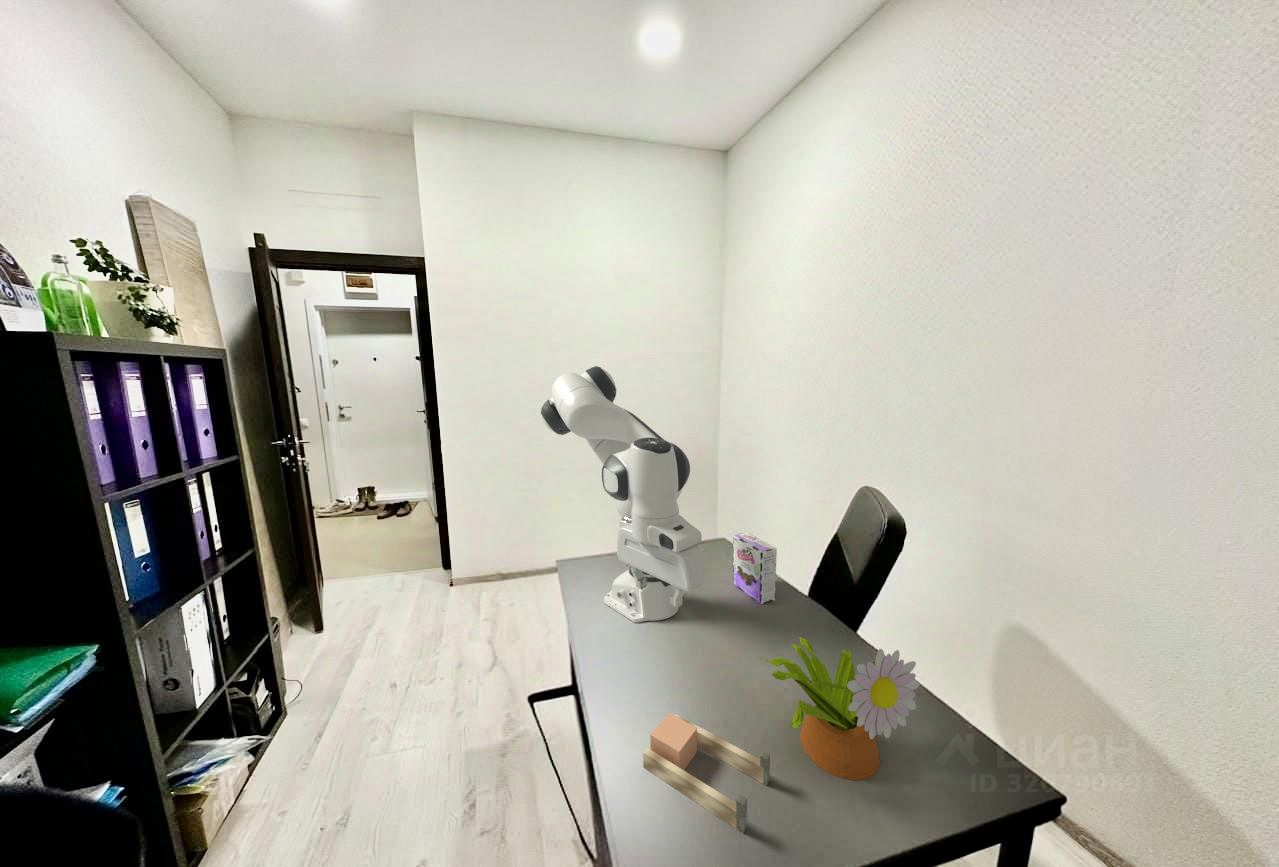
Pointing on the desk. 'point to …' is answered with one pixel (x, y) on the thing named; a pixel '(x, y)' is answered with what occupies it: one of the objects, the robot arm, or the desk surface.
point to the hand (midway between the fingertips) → (658, 595)
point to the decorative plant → (850, 708)
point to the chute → (704, 793)
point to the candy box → (754, 567)
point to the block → (675, 741)
